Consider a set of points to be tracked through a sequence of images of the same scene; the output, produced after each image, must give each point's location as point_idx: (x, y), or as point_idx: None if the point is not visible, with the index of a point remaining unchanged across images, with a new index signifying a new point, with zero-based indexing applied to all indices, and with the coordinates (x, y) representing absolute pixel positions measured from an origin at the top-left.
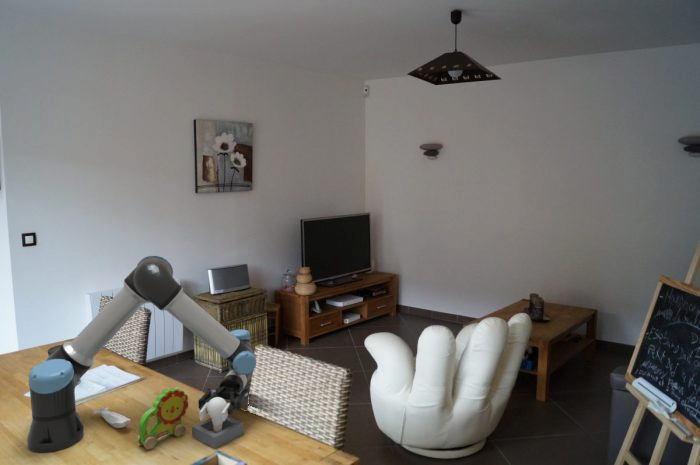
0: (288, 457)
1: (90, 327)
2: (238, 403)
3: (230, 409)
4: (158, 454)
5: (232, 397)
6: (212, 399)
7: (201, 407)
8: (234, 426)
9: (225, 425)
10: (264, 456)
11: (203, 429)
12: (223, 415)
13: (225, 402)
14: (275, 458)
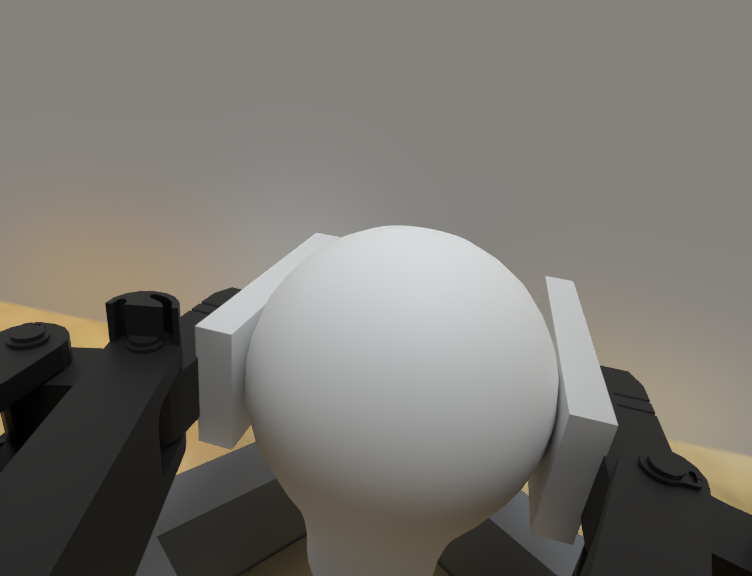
0: (3, 312)
1: None
2: (57, 338)
3: (231, 289)
4: (738, 489)
5: (19, 507)
6: (485, 253)
7: (630, 393)
8: (189, 485)
9: None
10: (109, 341)
11: (508, 509)
12: None
13: (277, 288)
14: (68, 320)
